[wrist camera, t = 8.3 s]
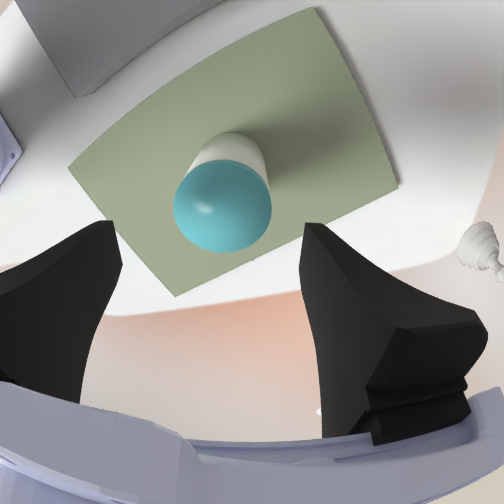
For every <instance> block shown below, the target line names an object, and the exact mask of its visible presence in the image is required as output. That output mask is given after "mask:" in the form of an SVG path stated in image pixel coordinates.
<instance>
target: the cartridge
mask: <svg viewBox="0 0 504 504" xmlns="http://www.w3.org/2000/svg"><path fill="white" fill-rule="evenodd" d="M173 211H174V217H175V220H176V223H177V225H178V227H179V229H180V230H181V232H182V233H183V234H184V236H185V237H186V238H187V239H188V240H190V241H191V242H192V243H194V244H195V245H197V246H199V247H201V248H203V249H206V250H209V251H213V252H219V253H228V252H235V251H239V250H242V249H245V248H247V247H249V246H251V245H252V244H254V243H255V242H256V241H257V240H259V239H260V238H261V236H262V235H263V234H264V233H265V231H266V229H267V228H268V226H269V223H270V220H271V215H272V204H271V197H270V191H269V185H268V179H267V173H266V167H265V161H264V156H263V153H262V151H261V149H260V148H259V146H258V145H257V144H256V143H255V142H254V141H253V140H252V139H251V138H249V137H247V136H245V135H243V134H239V133H234V132H227V133H222V134H219V135H216V136H214V137H212V138H211V139H209V140H208V141H207V142H206V143H205V144H204V145H203V147H202V148H201V150H200V152H199V153H198V155H197V156H196V158H195V160H194V161H193V163H192V165H191V166H190V168H189V170H188V171H187V173H186V175H185V176H184V178H183V180H182V182H181V183H180V185H179V187H178V189H177V191H176V194H175V197H174V202H173Z"/></svg>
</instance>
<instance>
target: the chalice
mask: <svg viewBox="0 0 504 504" xmlns="http://www.w3.org/2000/svg"><path fill="white" fill-rule="evenodd" d="M498 254H499V243H498V240H497V238H496V235H495V233H494V230H493V227H492V226H491V225H490V224H489V223H488V222H484V221H483V222H478V223H476V224H475V225H473V226H472V227H470V228H469V229H468V230H467V231H466V233H465V234H464V235H463V237H462V239H461V241H460V243H459V246H458V250H457V256H458V260H459V262H460V263H462V264H463V265H467V266H469V267H470V268H474V269H475V270H486V269H488V268H491V269H493V270H494V271H495V274H496V281H497V282H503V283H504V266H503V265H502V264H500V263H499V261H498V259H497V258H498Z"/></svg>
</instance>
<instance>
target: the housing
mask: <svg viewBox="0 0 504 504" xmlns="http://www.w3.org/2000/svg"><path fill="white" fill-rule="evenodd" d="M223 1H225V0H15V2H16V3H17V5H18V7H19V9H20V10H21V12H22V14H23V15H24V17H25V19H26V21H27V22H28V24H29V26H30V27H31V29H32V31H33V32H34V34H35V36H36V37H37V39H38V40H39V42H40V44H41V45H42V47H43V48H44V50H45V52H46V53H47V55H48V56H49V58H50V60H51V61H52V63H53V64H54V66H55V67H56V69H57V70H58V72H59V73H60V75H61V77H62V78H63V80H64V81H65V83H66V84H67V86H68V87H69V89H70V90H71V92H72V93H73V95H74V96H75V97H79V96H83V95H87V94H92V93H94V92H95V91H96V90H97V89H98V88H99V87H101V86H102V85H103V84H104V83H105V82H106V81H107V80H109V79H110V78H111V77H112V76H113V75H114V74H116V73H117V72H118V71H119V70H120V69H122V68H123V67H124V66H125V65H127V64H128V63H129V62H130V61H132V60H133V59H134V58H136V57H137V56H138V55H140V54H141V53H142V52H144V51H145V50H146V49H148V48H149V47H150V46H152V45H153V44H155V43H156V42H157V41H159V40H160V39H162V38H163V37H165V36H166V35H168V34H169V33H171V32H172V31H174V30H175V29H177V28H178V27H180V26H182V25H183V24H185V23H186V22H188V21H190V20H191V19H193V18H195V17H196V16H198V15H200V14H201V13H203V12H205V11H207V10H209V9H210V8H212V7H214V6H216V5H218V4H220V3H222V2H223Z"/></svg>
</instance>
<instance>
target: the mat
mask: <svg viewBox="0 0 504 504" xmlns="http://www.w3.org/2000/svg"><path fill="white" fill-rule="evenodd" d="M227 132H234V133H239V134H243V135H245V136H247V137H249V138H251V139H252V140H253V141H254V142H255V143H256V144H257V145H258V146H259V148H260V149H261V151H262V153H263V156H264V161H265V167H266V173H267V179H268V185H269V191H270V197H271V204H272V215H271V220H270V223H269V226H268V228H267V229H266V231H265V233H264V234H263V235H262V236H261V238H260V239H259V240H257V241H256V242H255V243H254V244H252V245H251V246H249V247H247V248H245V249H242V250H239V251H235V252H228V253H219V252H213V251H209V250H206V249H203V248H201V247H199V246H197V245H195V244H194V243H192V242H191V241H190V240H188V239H187V238H186V237H185V236H184V234H183V233H182V232H181V230H180V229H179V227H178V225H177V223H176V220H175V217H174V211H173V202H174V197H175V194H176V191H177V189H178V187H179V185H180V183H181V182H182V180H183V178H184V176H185V175H186V173H187V171H188V170H189V168H190V166H191V165H192V163H193V161H194V160H195V158H196V156H197V155H198V153H199V152H200V150H201V148H202V147H203V145H204V144H205V143H206V142H207V141H208V140H209V139H211V138H212V137H214V136H216V135H219V134H222V133H227ZM68 169H69V171H70V172H71V173H72V175H73V176H74V177H75V179H76V180H77V181H78V183H79V184H80V185H81V187H82V188H83V189H84V191H85V192H86V193H87V195H88V196H89V197H90V199H91V200H92V201H93V202H94V204H95V205H96V206H97V207H98V209H99V210H100V211H101V212H102V214H103V215H104V216H105V217H106V219H107V220H113V223H114V228H115V230H116V231H117V232H118V233H119V234H120V236H121V237H122V238H123V239H124V240H125V242H126V243H127V244H128V245H129V246H130V248H131V249H132V250H133V251H134V252H135V253H136V254H137V256H138V257H139V258H140V259H141V260H142V261H143V262H144V264H145V265H146V266H147V267H148V268H149V269H150V270H151V271H152V273H153V274H154V275H155V276H156V277H157V278H158V279H159V280H160V281H161V283H162V284H163V285H164V286H165V287H166V288H167V289H168V290H169V291H170V292H171V293H172V294H173V295H174V297H176V296H179V295H181V294H183V293H185V292H187V291H189V290H191V289H193V288H195V287H197V286H199V285H202V284H204V283H206V282H208V281H210V280H212V279H214V278H216V277H218V276H220V275H222V274H224V273H227V272H229V271H231V270H233V269H235V268H237V267H239V266H241V265H243V264H245V263H247V262H249V261H251V260H253V259H256V258H258V257H260V256H262V255H264V254H266V253H268V252H270V251H272V250H274V249H276V248H278V247H280V246H282V245H284V244H286V243H289V242H291V241H293V240H295V239H297V238H299V237H301V236H303V234H304V226H305V222H308V223H322V224H324V225H325V224H327V223H329V222H332V221H334V220H336V219H338V218H340V217H342V216H344V215H346V214H348V213H350V212H352V211H354V210H356V209H358V208H360V207H362V206H364V205H366V204H368V203H370V202H372V201H374V200H376V199H378V198H380V197H382V196H384V195H386V194H388V193H390V192H392V191H394V190H396V189H398V185H397V182H396V179H395V176H394V173H393V170H392V167H391V164H390V161H389V159H388V156H387V153H386V151H385V148H384V145H383V143H382V140H381V138H380V135H379V133H378V130H377V128H376V126H375V123H374V121H373V119H372V116H371V114H370V112H369V109H368V107H367V105H366V103H365V101H364V98H363V96H362V94H361V92H360V90H359V88H358V86H357V84H356V82H355V80H354V78H353V76H352V74H351V72H350V70H349V68H348V66H347V64H346V62H345V60H344V58H343V56H342V55H341V53H340V51H339V49H338V47H337V46H336V44H335V42H334V40H333V39H332V37H331V35H330V34H329V32H328V30H327V28H326V27H325V25H324V24H323V22H322V20H321V19H320V17H319V16H318V14H317V12H316V11H315V9H314V8H313V7H310V8H308V9H305V10H302V11H300V12H297V13H295V14H293V15H290V16H288V17H286V18H283V19H281V20H279V21H277V22H274V23H272V24H270V25H268V26H266V27H264V28H262V29H259V30H257V31H255V32H253V33H251V34H249V35H247V36H245V37H244V38H242V39H240V40H238V41H236V42H234V43H232V44H230V45H229V46H227V47H225V48H223V49H221V50H220V51H218V52H216V53H215V54H213V55H211V56H209V57H208V58H206V59H204V60H203V61H201V62H200V63H198V64H196V65H195V66H193V67H192V68H190V69H188V70H187V71H185V72H184V73H182V74H181V75H179V76H178V77H176V78H175V79H173V80H172V81H170V82H169V83H167V84H166V85H165V86H163V87H162V88H160V89H159V90H158V91H156V92H155V93H153V94H152V95H151V96H149V97H148V98H147V99H145V100H144V101H143V102H141V103H140V104H139V105H138V106H136V107H135V108H134V109H132V110H131V111H130V112H129V113H127V114H126V115H125V116H124V117H122V118H121V119H120V120H119V121H118V122H116V123H115V124H114V125H113V126H112V127H111V128H109V129H108V130H107V131H106V132H105V133H104V134H102V135H101V136H100V137H99V138H98V139H97V140H96V141H95V142H94V143H92V144H91V145H90V146H89V147H88V148H87V149H86V150H85V151H84V152H83V153H82V154H81V155H80V156H79V157H78V158H77V159H76V160H75V161H74V162H73V163H72V164H71V165H70V166H69V167H68Z"/></svg>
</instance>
